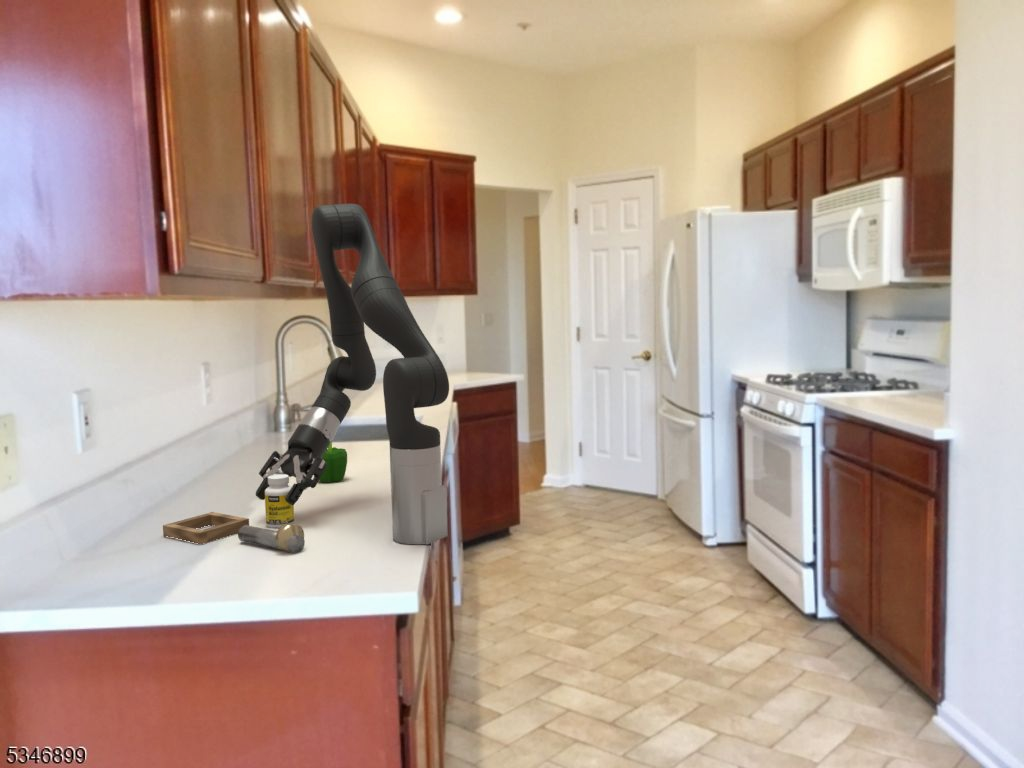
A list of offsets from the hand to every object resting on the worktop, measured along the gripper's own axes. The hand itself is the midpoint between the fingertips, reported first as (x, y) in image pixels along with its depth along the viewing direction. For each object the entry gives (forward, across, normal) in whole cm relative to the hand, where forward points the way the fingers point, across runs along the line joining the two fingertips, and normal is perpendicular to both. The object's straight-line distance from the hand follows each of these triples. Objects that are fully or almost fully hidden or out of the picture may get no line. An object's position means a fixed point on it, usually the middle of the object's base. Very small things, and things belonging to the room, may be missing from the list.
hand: (273, 500), depth 154 cm
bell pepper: (-21, -20, +29) cm, 41 cm away
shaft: (+10, +10, -3) cm, 15 cm away
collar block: (+10, -8, -3) cm, 14 cm away
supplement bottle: (+3, 0, +5) cm, 6 cm away
